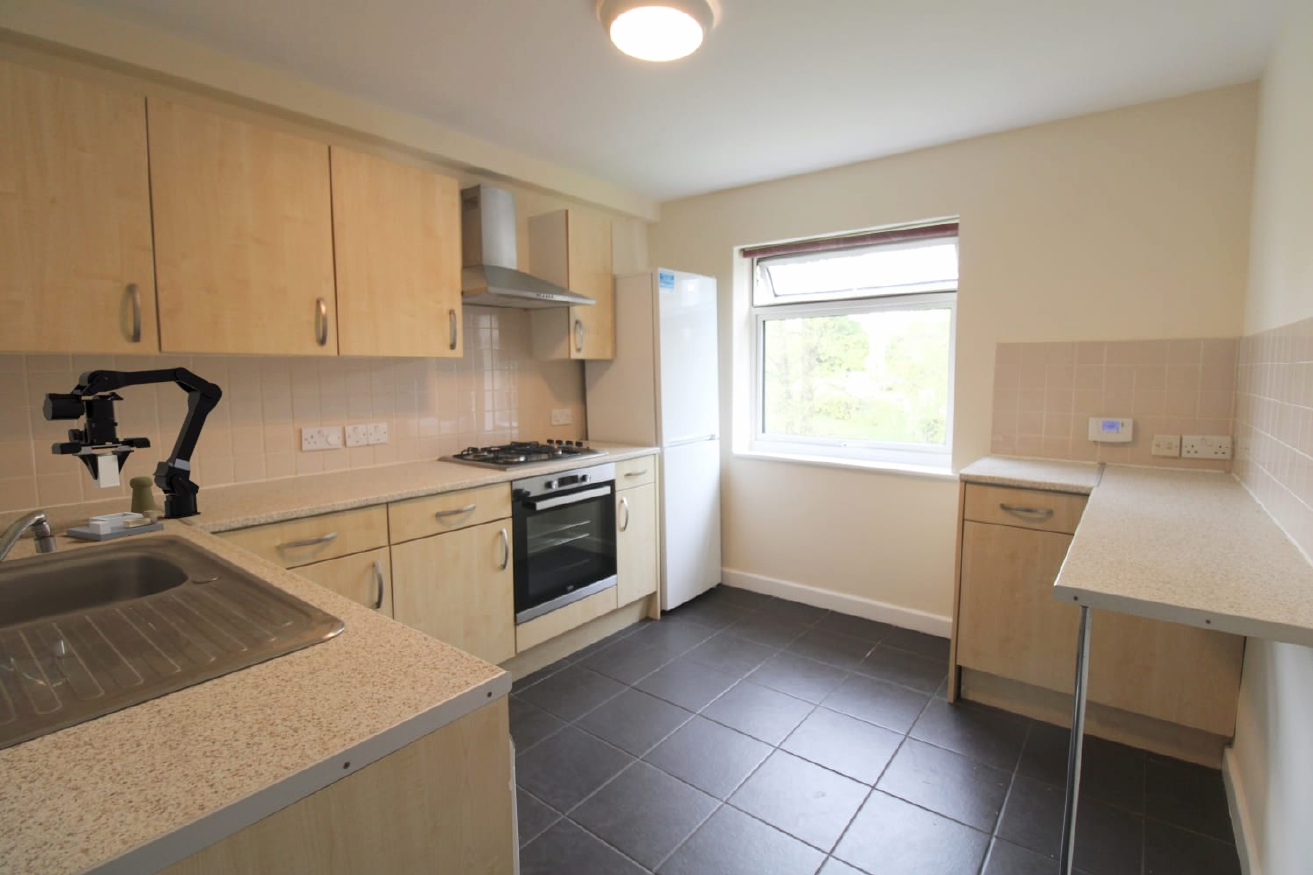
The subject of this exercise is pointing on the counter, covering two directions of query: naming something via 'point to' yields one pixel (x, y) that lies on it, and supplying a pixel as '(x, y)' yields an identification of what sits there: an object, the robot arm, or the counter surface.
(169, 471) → the robot arm
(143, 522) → the latch bolt
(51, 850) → the counter surface
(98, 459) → the white upright block
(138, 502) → the olive pepper mill
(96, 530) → the plate
